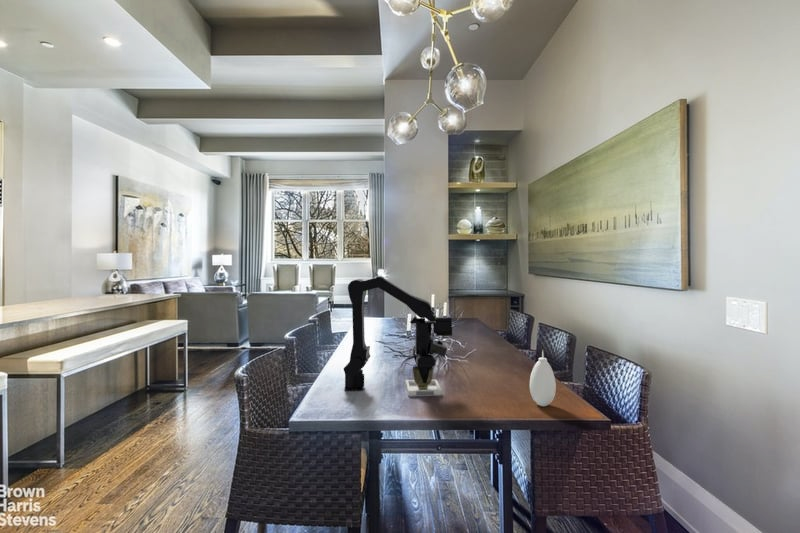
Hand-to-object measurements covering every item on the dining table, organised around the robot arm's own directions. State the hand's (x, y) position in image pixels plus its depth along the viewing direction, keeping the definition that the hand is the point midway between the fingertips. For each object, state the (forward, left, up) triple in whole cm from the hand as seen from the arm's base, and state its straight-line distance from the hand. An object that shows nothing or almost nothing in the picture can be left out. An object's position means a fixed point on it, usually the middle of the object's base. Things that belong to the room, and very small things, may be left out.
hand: (423, 378), depth 137 cm
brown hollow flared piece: (0, 0, -4) cm, 4 cm away
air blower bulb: (+37, -16, -4) cm, 40 cm away
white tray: (0, 0, -4) cm, 4 cm away
